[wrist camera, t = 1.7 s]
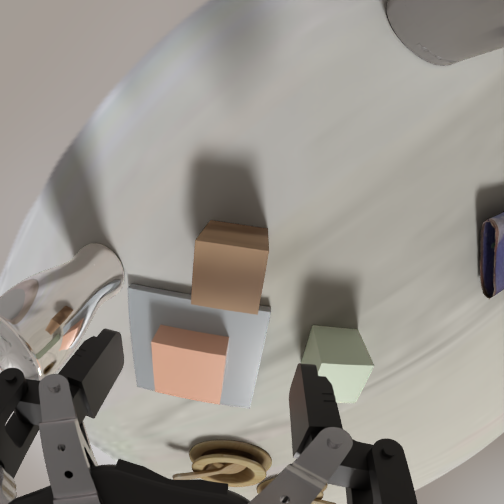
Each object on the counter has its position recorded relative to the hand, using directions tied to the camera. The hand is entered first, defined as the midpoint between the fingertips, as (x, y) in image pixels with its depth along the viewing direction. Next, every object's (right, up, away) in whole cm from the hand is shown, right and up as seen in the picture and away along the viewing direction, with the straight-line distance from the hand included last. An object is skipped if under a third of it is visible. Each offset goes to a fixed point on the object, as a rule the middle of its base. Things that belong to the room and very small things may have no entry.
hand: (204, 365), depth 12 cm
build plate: (-4, -6, +18) cm, 19 cm away
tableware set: (+4, -34, +28) cm, 44 cm away
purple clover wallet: (+27, +5, +14) cm, 31 cm away
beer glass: (-14, +3, +16) cm, 21 cm away
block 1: (+1, +5, +14) cm, 15 cm away
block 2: (+10, -5, +17) cm, 21 cm away
